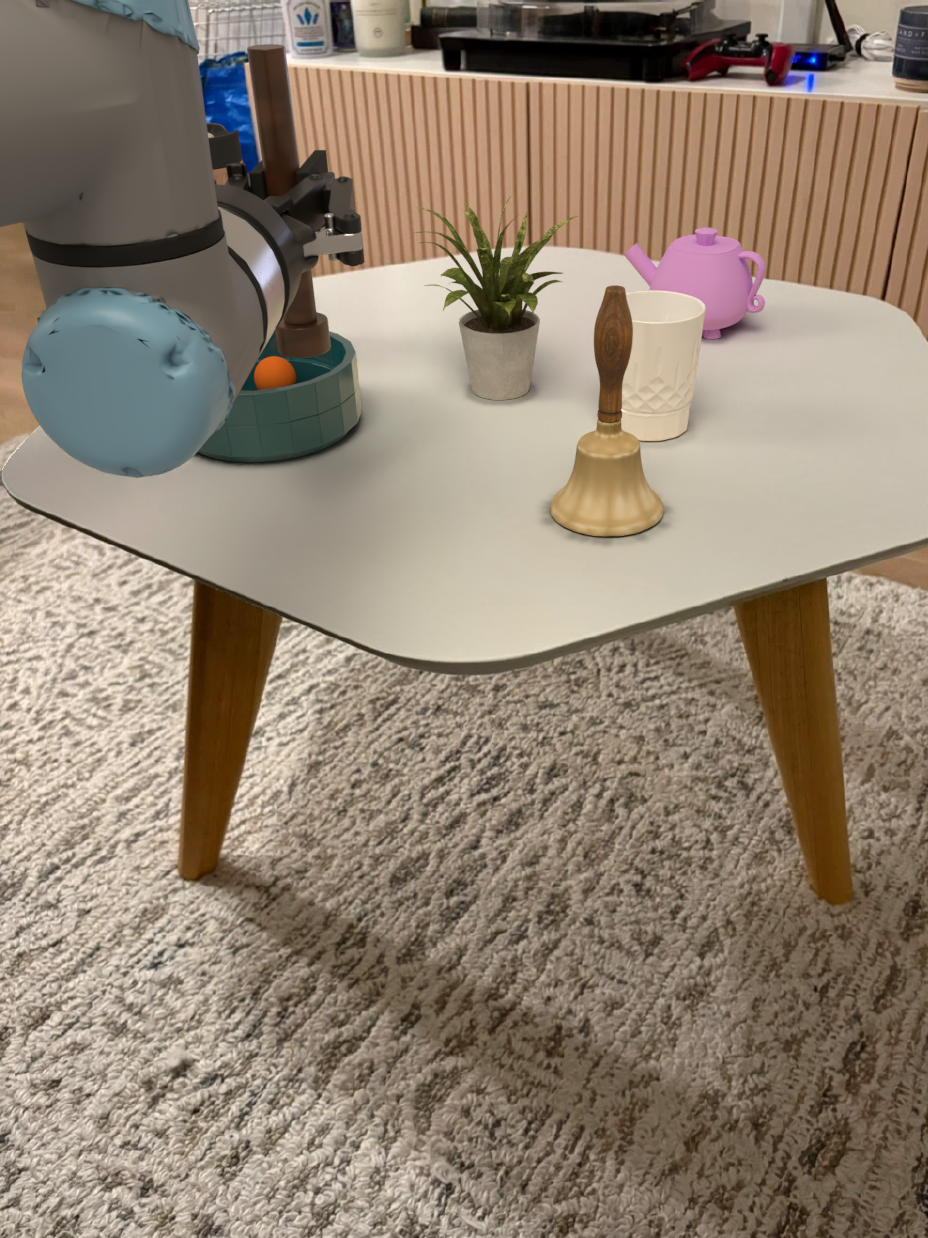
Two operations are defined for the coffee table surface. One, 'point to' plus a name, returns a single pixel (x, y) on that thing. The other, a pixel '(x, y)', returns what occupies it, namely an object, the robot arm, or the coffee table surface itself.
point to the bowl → (292, 409)
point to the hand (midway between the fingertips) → (301, 172)
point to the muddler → (284, 190)
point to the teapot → (706, 276)
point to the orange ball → (274, 373)
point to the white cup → (661, 363)
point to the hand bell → (609, 444)
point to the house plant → (498, 310)
